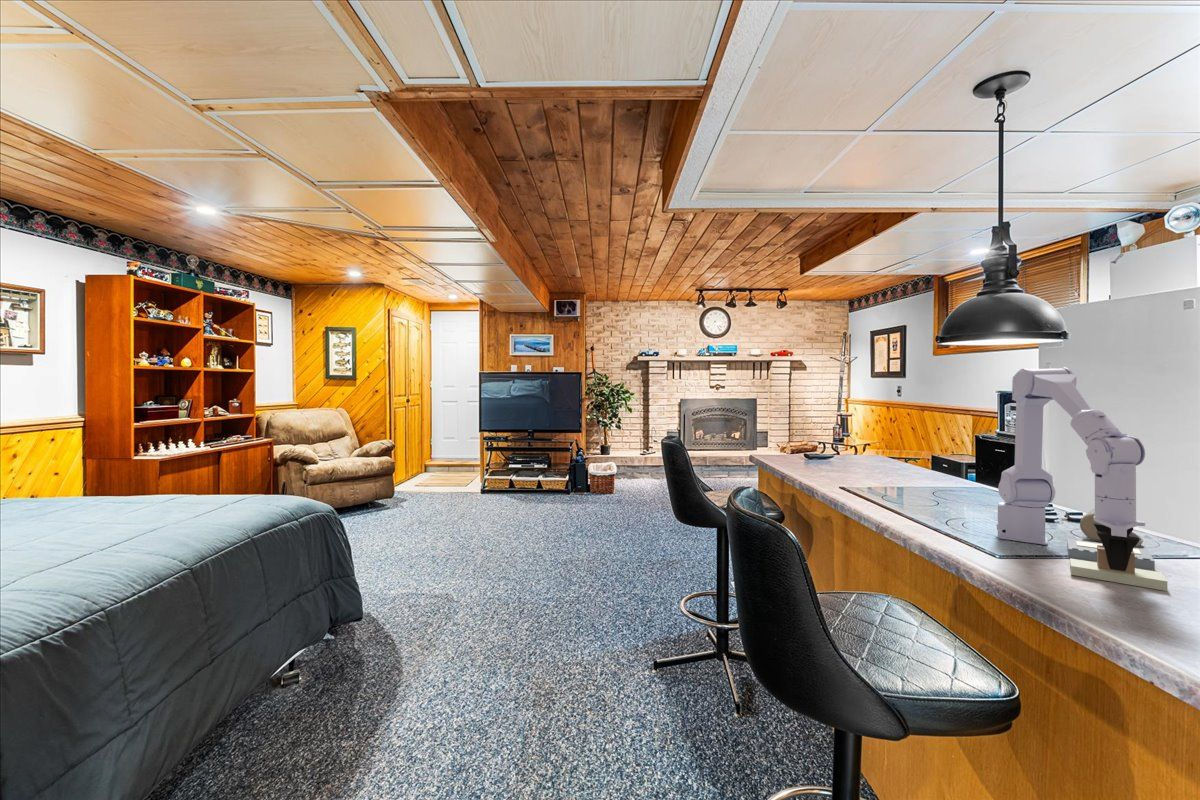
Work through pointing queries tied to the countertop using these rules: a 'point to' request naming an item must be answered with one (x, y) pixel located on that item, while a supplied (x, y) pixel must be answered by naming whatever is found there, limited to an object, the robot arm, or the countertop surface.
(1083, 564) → the stub
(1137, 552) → the board
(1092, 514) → the ceramic mug
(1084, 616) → the countertop surface
